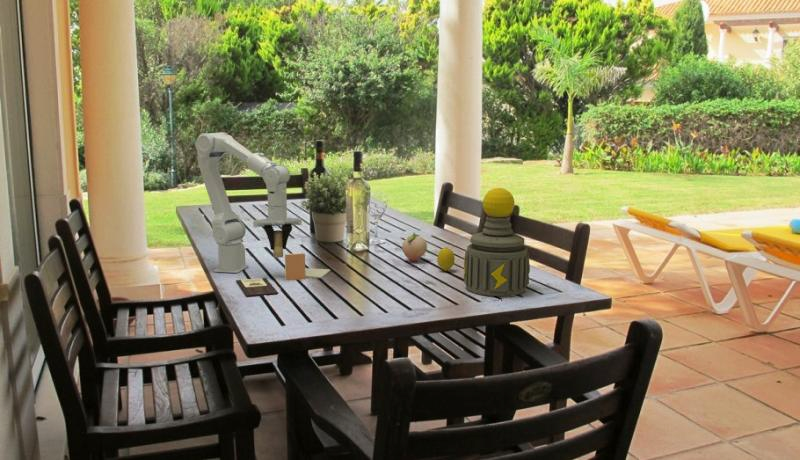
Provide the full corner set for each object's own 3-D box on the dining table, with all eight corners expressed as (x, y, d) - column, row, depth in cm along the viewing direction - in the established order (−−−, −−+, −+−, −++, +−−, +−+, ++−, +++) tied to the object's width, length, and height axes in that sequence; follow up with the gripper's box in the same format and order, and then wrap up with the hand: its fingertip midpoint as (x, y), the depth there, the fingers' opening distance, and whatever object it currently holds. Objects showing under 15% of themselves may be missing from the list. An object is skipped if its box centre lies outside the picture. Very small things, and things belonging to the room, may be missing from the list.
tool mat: (303, 269, 239) (303, 268, 239) (330, 270, 237) (330, 269, 237) (293, 276, 229) (293, 275, 229) (321, 278, 228) (321, 276, 228)
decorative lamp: (462, 280, 226) (464, 183, 221) (523, 281, 226) (527, 184, 220) (465, 297, 208) (468, 191, 202) (532, 298, 207) (537, 192, 202)
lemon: (445, 268, 242) (445, 244, 240) (457, 271, 238) (458, 247, 236) (433, 271, 238) (433, 246, 236) (446, 274, 234) (446, 249, 233)
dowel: (275, 255, 230) (274, 230, 228) (284, 255, 229) (284, 230, 228) (271, 257, 227) (271, 231, 225) (281, 257, 226) (280, 232, 225)
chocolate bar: (246, 295, 206) (236, 280, 222) (246, 298, 206) (236, 283, 222) (278, 292, 209) (265, 277, 225) (278, 296, 209) (265, 280, 226)
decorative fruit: (424, 265, 246) (424, 235, 244) (400, 263, 248) (400, 234, 246) (428, 259, 255) (429, 230, 253) (405, 257, 257) (405, 229, 255)
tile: (285, 279, 226) (284, 254, 224) (304, 278, 228) (304, 252, 226) (286, 280, 224) (285, 254, 223) (305, 279, 226) (305, 253, 225)
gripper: (255, 208, 219) (256, 253, 221) (303, 206, 224) (304, 250, 226) (251, 204, 225) (252, 248, 228) (298, 202, 230) (299, 245, 233)
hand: (278, 248), depth 227 cm, fingers closed on dowel, 3 cm apart
